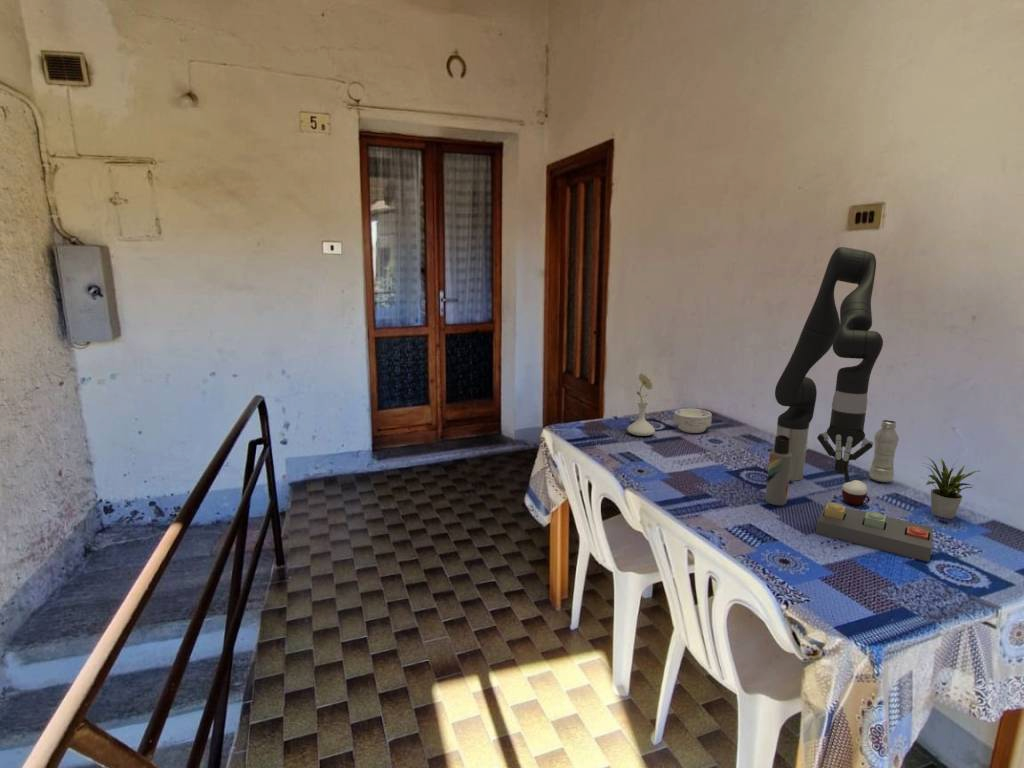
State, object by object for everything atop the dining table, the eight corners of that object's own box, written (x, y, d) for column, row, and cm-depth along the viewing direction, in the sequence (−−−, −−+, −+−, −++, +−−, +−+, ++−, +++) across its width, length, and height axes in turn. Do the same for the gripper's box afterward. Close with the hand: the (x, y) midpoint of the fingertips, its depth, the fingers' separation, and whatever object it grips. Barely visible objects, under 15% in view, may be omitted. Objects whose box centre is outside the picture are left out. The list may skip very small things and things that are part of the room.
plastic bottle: (896, 485, 180) (905, 424, 176) (872, 483, 181) (881, 423, 177) (887, 478, 186) (896, 419, 182) (864, 476, 187) (873, 418, 183)
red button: (905, 543, 140) (907, 530, 139) (906, 537, 143) (908, 524, 142) (925, 548, 137) (928, 535, 136) (926, 542, 140) (928, 528, 140)
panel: (815, 533, 147) (817, 520, 146) (824, 514, 158) (826, 503, 157) (929, 562, 133) (931, 548, 132) (930, 539, 144) (932, 527, 143)
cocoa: (871, 509, 163) (880, 470, 160) (850, 509, 162) (858, 470, 159) (851, 495, 172) (859, 458, 169) (831, 494, 172) (838, 457, 169)
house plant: (895, 506, 164) (903, 453, 160) (926, 499, 169) (935, 447, 165) (948, 527, 151) (958, 469, 147) (980, 519, 156) (991, 463, 152)
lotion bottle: (785, 499, 168) (792, 435, 164) (787, 507, 163) (795, 440, 159) (764, 497, 170) (771, 433, 166) (766, 504, 165) (773, 438, 161)
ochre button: (823, 518, 150) (825, 505, 149) (826, 513, 153) (828, 500, 152) (841, 523, 147) (843, 510, 147) (844, 517, 151) (846, 504, 150)
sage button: (863, 528, 145) (865, 515, 144) (865, 522, 148) (867, 509, 147) (882, 532, 142) (884, 519, 141) (884, 526, 145) (886, 513, 145)
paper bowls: (667, 425, 245) (668, 408, 244) (701, 424, 247) (702, 407, 245) (681, 436, 231) (682, 417, 229) (717, 435, 232) (718, 416, 231)
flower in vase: (658, 438, 227) (661, 377, 222) (629, 438, 227) (632, 377, 222) (650, 429, 240) (654, 371, 235) (623, 428, 240) (626, 371, 235)
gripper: (881, 409, 143) (871, 474, 147) (822, 402, 151) (814, 463, 154) (878, 415, 137) (868, 483, 141) (817, 407, 145) (809, 471, 149)
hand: (840, 472), depth 148 cm, fingers closed
